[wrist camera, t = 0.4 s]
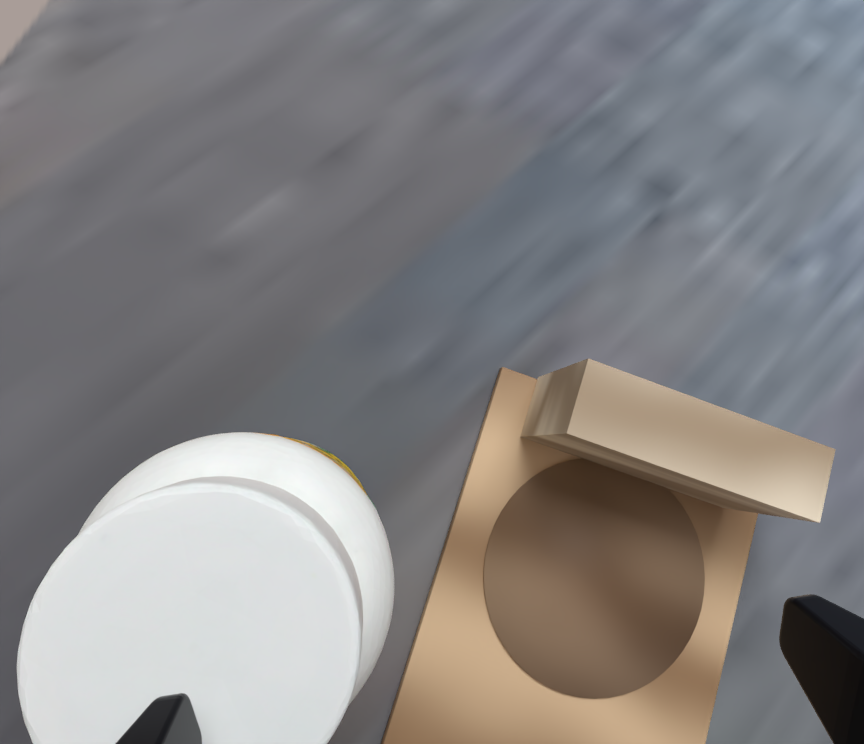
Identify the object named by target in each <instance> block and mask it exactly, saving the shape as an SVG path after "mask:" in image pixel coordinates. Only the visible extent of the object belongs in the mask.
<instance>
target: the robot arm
mask: <svg viewBox="0 0 864 744" xmlns="http://www.w3.org/2000/svg"><path fill="white" fill-rule="evenodd" d="M779 640H780V647H781V650H782V652H783V655H784V657H785V659H786V660H787V662H788V664H789V666H790V667H791V669H792V671H793V673H794V675H795V676H796V678H797V680H798V682H799V683H800V685H801V687H802V689H803V690H804V692H805V694H806V696H807V697H808V699H809V701H810V703H811V705H812V706H813V708H814V710H815V712H816V713H817V715H818V717H819V719H820V720H821V722H822V724H823V726H824V727H825V729H826V731H827V733H828V734H829V736H830V738H831V740H832V741H833V743H834V744H864V619H863V618H861V617H859V616H857V615H855V614H853V613H851V612H849V611H847V610H845V609H844V608H842V607H840V606H838V605H836V604H834V603H832V602H830V601H828V600H826V599H824V598H822V597H819V596H817V595H811V594H810V595H803V596H797V597H791V598H788V599H787V600H786V602H785V604H784V609H783V616H782V623H781V629H780V636H779ZM115 744H202V736H201V731H200V728H199V725H198V722H197V719H196V716H195V713H194V710H193V707H192V704H191V701H190V699H189V697H188V696H187V695H186V694H185V693H179V694H173V695H166V696H161V697H158V698H156V699H155V700H154V701H153V702H152V703H151V704H150V705H149V706H148V707H147V708H146V709H145V710H144V712H143V713H142V714H141V715H140V716H139V717H138V718H137V720H136V721H135V722H134V723H133V724H132V725H131V726H130V727H129V729H128V730H127V731H126V732H125V733H124V734H123V735H122V737H121V738H120V739H119V740H118V741H117V742H116V743H115Z"/></svg>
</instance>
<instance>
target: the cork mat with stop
mask: <svg viewBox="0 0 864 744" xmlns="http://www.w3.org/2000/svg"><path fill="white" fill-rule="evenodd" d="M834 454H835V449H833V448H830V447H827V446H825V445H822V444H819V443H817V442H814V441H811V440H808V439H806V438H803V437H800V436H798V435H795V434H792V433H789V432H787V431H784V430H781V429H779V428H776V427H773V426H770V425H768V424H765V423H762V422H759V421H757V420H754V419H751V418H749V417H746V416H743V415H740V414H738V413H735V412H732V411H730V410H727V409H724V408H721V407H719V406H716V405H713V404H711V403H708V402H705V401H702V400H700V399H697V398H694V397H692V396H689V395H686V394H683V393H681V392H678V391H675V390H672V389H670V388H667V387H664V386H662V385H659V384H656V383H653V382H651V381H648V380H645V379H643V378H640V377H637V376H634V375H632V374H629V373H626V372H624V371H621V370H618V369H615V368H613V367H610V366H607V365H605V364H602V363H599V362H596V361H594V360H591V359H586V360H583V361H581V362H578V363H575V364H573V365H570V366H567V367H564V368H562V369H559V370H556V371H554V372H551V373H548V374H546V375H543V376H540V377H538V379H534V378H532V377H529V376H526V375H523V374H521V373H518V372H515V371H512V370H510V369H507V368H504V367H502V368H500V370H499V373H498V377H497V380H496V383H495V386H494V389H493V392H492V396H491V399H490V402H489V405H488V408H487V411H486V414H485V418H484V421H483V424H482V427H481V430H480V433H479V437H478V440H477V443H476V446H475V449H474V452H473V455H472V459H471V462H470V465H469V468H468V471H467V474H466V478H465V481H464V484H463V487H462V490H461V493H460V496H459V500H458V503H457V506H456V509H455V512H454V515H453V519H452V522H451V525H450V528H449V531H448V534H447V537H446V541H445V544H444V547H443V550H442V553H441V556H440V560H439V563H438V566H437V569H436V572H435V575H434V578H433V582H432V585H431V588H430V591H429V594H428V597H427V601H426V604H425V607H424V610H423V613H422V616H421V619H420V623H419V626H418V629H417V632H416V635H415V638H414V642H413V645H412V648H411V651H410V654H409V657H408V660H407V664H406V667H405V670H404V673H403V676H402V679H401V683H400V686H399V689H398V692H397V695H396V698H395V701H394V705H393V708H392V711H391V714H390V717H389V720H388V724H387V727H386V730H385V733H384V736H383V739H382V742H381V744H705V742H706V738H707V733H708V729H709V725H710V720H711V716H712V712H713V707H714V703H715V699H716V694H717V690H718V685H719V681H720V677H721V672H722V668H723V664H724V659H725V655H726V651H727V646H728V642H729V638H730V633H731V629H732V624H733V620H734V616H735V611H736V607H737V603H738V598H739V594H740V590H741V585H742V581H743V577H744V572H745V568H746V563H747V559H748V555H749V550H750V546H751V542H752V537H753V533H754V529H755V524H756V520H757V516H758V513H759V514H766V515H772V516H779V517H785V518H792V519H798V520H805V521H811V522H818V523H820V520H821V515H822V510H823V506H824V501H825V496H826V491H827V487H828V482H829V477H830V472H831V468H832V463H833V458H834Z"/></svg>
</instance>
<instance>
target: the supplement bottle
mask: <svg viewBox="0 0 864 744" xmlns="http://www.w3.org/2000/svg"><path fill="white" fill-rule="evenodd" d="M393 602H394V571H393V563H392V556H391V551H390V547H389V543H388V539H387V536H386V533H385V529H384V527H383V525H382V522H381V520H380V518H379V515H378V512H377V510H376V508H375V506H374V504H373V503H372V501H371V500H370V498H369V497H368V496H367V494H366V492H365V490H364V488H363V486H362V485H361V483H360V481H359V480H358V479H357V477H356V476H355V475H354V473H353V472H352V471H351V470H350V469H349V468H348V466H346V465H345V464H344V463H343V462H342V461H341V460H340V459H338V458H337V457H336V456H334V455H333V454H331V453H330V452H328V451H326V450H324V449H322V448H320V447H318V446H316V445H313V444H311V443H308V442H304V441H300V440H296V439H292V438H286V437H281V436H278V435H272V434H262V433H249V432H240V433H224V434H216V435H209V436H205V437H201V438H197V439H194V440H190V441H187V442H184V443H181V444H179V445H176V446H174V447H171V448H169V449H166V450H164V451H162V452H160V453H158V454H156V455H155V456H153V457H151V458H150V459H148V460H147V461H145V462H143V463H142V464H140V465H139V466H137V467H136V468H135V469H133V470H132V471H131V472H129V473H128V474H127V475H126V476H125V477H123V478H122V479H121V480H120V481H119V482H118V483H117V484H116V485H115V486H114V487H113V488H111V489H110V491H109V492H108V493H107V494H106V495H105V496H104V497H103V499H102V500H101V501H100V502H99V503H98V504H97V506H96V507H95V509H94V510H93V512H92V513H91V514H90V516H89V517H88V519H87V520H86V522H85V523H84V525H83V527H82V528H81V530H80V532H79V534H78V536H77V537H76V538H75V539H74V540H72V542H71V543H70V544H69V545H68V546H67V547H66V548H65V549H64V551H63V552H62V553H61V554H60V556H59V557H58V558H57V559H56V561H55V562H54V563H53V564H52V566H51V567H50V569H49V571H48V572H47V574H46V576H45V577H44V579H43V581H42V582H41V584H40V586H39V587H38V589H37V591H36V593H35V595H34V597H33V600H32V602H31V604H30V607H29V610H28V613H27V616H26V619H25V622H24V625H23V629H22V634H21V639H20V644H19V649H18V659H17V680H18V693H19V699H20V704H21V709H22V713H23V718H24V722H25V725H26V727H27V730H28V732H29V734H30V737H31V739H32V742H33V744H115V743H116V742H117V741H118V740H119V739H120V738H121V737H122V735H123V734H124V733H125V732H126V731H127V730H128V729H129V727H130V726H131V725H132V724H133V723H134V722H135V721H136V720H137V718H138V717H139V716H140V715H141V714H142V713H143V712H144V710H145V709H146V708H147V707H148V706H149V705H150V704H151V703H152V702H153V701H154V700H155V699H156V698H158V697H161V696H166V695H173V694H179V693H185V694H186V695H187V696H188V697H189V699H190V701H191V704H192V707H193V710H194V713H195V716H196V719H197V722H198V725H199V728H200V731H201V736H202V744H327V743H328V742H329V740H330V739H331V737H332V736H333V734H334V733H335V731H336V729H337V728H338V726H339V724H340V722H341V720H342V718H343V716H344V714H345V712H346V710H347V707H348V705H349V704H350V703H351V702H352V700H353V699H354V698H355V697H356V695H357V694H358V693H359V692H360V690H361V689H362V687H363V685H364V684H365V682H366V681H367V679H368V678H369V676H370V675H371V673H372V671H373V669H374V667H375V664H376V662H377V660H378V658H379V656H380V654H381V651H382V649H383V646H384V643H385V640H386V637H387V633H388V630H389V626H390V623H391V617H392V612H393Z"/></svg>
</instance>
